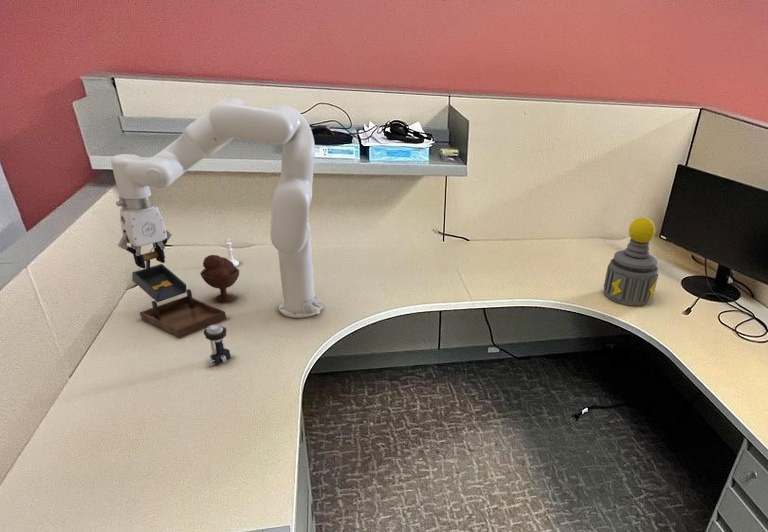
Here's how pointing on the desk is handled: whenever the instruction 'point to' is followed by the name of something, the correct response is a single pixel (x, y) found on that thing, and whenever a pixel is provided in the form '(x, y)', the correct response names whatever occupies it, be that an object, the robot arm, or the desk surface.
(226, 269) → the ice cream bowl
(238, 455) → the desk surface
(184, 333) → the tray
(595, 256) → the desk surface
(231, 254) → the chess piece
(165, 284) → the key
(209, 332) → the push button
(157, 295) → the scoop
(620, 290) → the decorative lamp
